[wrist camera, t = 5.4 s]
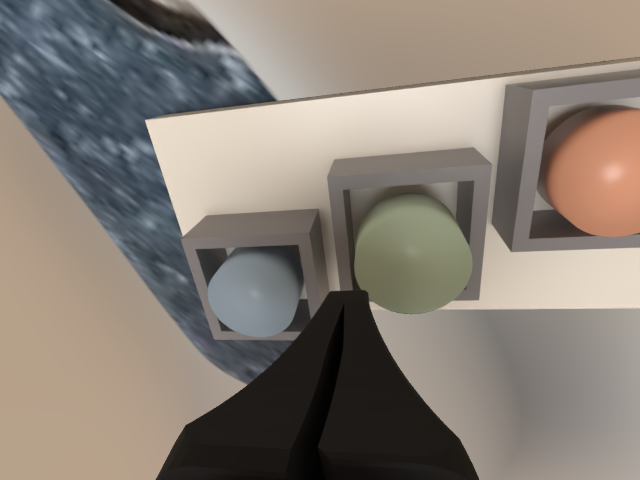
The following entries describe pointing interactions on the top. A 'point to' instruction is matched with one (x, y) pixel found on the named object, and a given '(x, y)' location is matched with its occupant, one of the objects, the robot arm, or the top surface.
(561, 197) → the button terracotta
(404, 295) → the button green
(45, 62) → the top surface
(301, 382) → the robot arm
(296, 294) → the button blue
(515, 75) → the panel
